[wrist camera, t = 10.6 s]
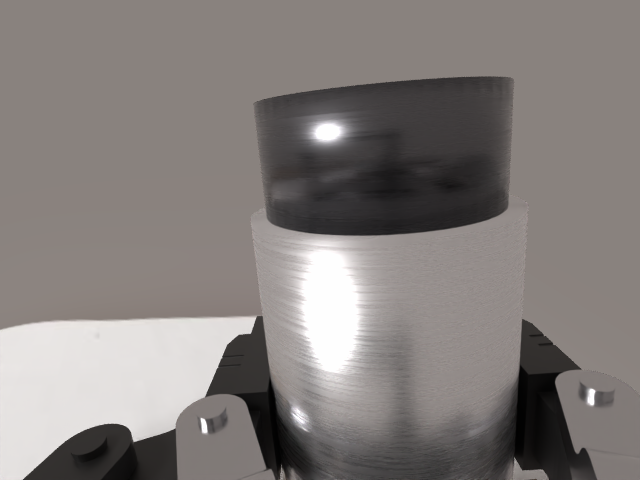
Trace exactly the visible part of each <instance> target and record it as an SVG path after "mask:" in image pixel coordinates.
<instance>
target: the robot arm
mask: <svg viewBox="0 0 640 480" xmlns="http://www.w3.org/2000/svg"><path fill="white" fill-rule="evenodd" d="M222 357H223V358H222V359H221V361H220V363H219V366H218V368H217V370H216V373H215V375H214V377H213V380H212V382H211V384H210V387H209V389H208V391H207V394H206V396H205V398H202V399H200V400H198V401H196V402H194V403H192V404H191V405H190V406H188V407H187V408H186V409H185V410H184V411H183V412H182V413H181V414H180V416H179V417H178V419H177V422H176V429H174V430H171V431H169V432H166V433H163V434H160V435H157V436H153V437H150V438H147V439H143V440H140V441H136V442H133V439H132V435H131V432H130V430H129V429H128V428H127V427H125V426H123V425H120V424H104V425H99V426H96V427H92V428H90V429H87V430H84V431H82V432H80V433H78V434H76V435H75V436H73V437H71V438H70V439H68V440H67V441H65V442H64V443H63V444H62V445H61V446H59V447H58V448H57V449H56V450H55V451H54V452H53V453H52V454H51V455H49V456H48V457H47V458H46V459H45V460H44V461H43V462H42V463H41V464H39V465H38V466H37V467H36V468H35V469H34V470H33V471H32V472H31V473H30V474H28V475H27V476H26V477H25V478H24V479H23V480H280V472H281V456H280V448H279V440H278V432H277V424H276V416H275V409H274V401H273V393H272V385H271V377H270V370H269V362H268V354H267V346H266V338H265V330H264V322H263V316H257V318H256V321H255V324H254V327H253V330H252V333H251V334H243V335H238V336H237V337H236V338H235V339H234V340H232V341H231V342H230V343H229V344H228V345H227V347H226V349H225V352H224V354H223V356H222ZM514 457H515V459H516V460H517V462H518V464H519V465H520V467H521V469H522V470H537V469H543V470H544V471H545V473H546V474H547V480H640V396H639V395H638V393H637V392H636V391H635V390H634V389H633V388H632V387H631V386H629V385H628V384H626V383H625V382H622V381H621V380H619V379H617V378H615V377H612V376H609V375H607V374H604V373H600V372H595V371H589V370H582V369H581V368H579V367H578V366H577V365H576V364H575V363H574V362H573V361H572V360H571V359H570V358H569V357H568V356H566V355H565V354H564V353H563V352H562V351H561V350H560V349H559V348H558V347H557V346H556V345H553V343H552V342H551V341H550V340H549V339H548V338H547V337H546V336H544V335H543V333H542V332H540V331H539V330H538V329H537V328H536V327H535V326H534V325H533V324H532V323H530V322H528V321H525V320H523V319H522V328H521V346H520V364H519V381H518V399H517V417H516V435H515V453H514Z"/></svg>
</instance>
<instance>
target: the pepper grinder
mask: <svg viewBox="0 0 640 480" xmlns="http://www.w3.org/2000/svg"><path fill="white" fill-rule="evenodd" d="M513 89H514V79H512V78H508V77H457V78H438V79H422V80H411V81H410V80H409V81H397V82H386V83H376V84H366V85H356V86H347V87H339V88H330V89H323V90H315V91H309V92H301V93H295V94H289V95H283V96H278V97H272V98H268V99H264V100H261V101H257V102H255V103H254V113H255V122H256V130H257V138H258V147H259V155H260V165H261V173H262V182H263V190H264V199H265V207H264V208H262V209H260V210H258V211H257V212H255V213H254V214H253V215H252V217H251V219H250V220H251V228H252V236H253V243H254V252H255V259H256V267H257V275H258V283H259V291H260V299H261V306H262V315H263V322H264V330H265V338H266V346H267V354H268V362H269V370H270V377H271V385H272V393H273V401H274V409H275V416H276V424H277V432H278V440H279V448H280V456H281V464H282V472H283V480H513V470H514V453H515V435H516V417H517V399H518V381H519V364H520V346H521V328H522V309H523V292H524V275H525V273H524V272H525V257H526V239H527V221H528V204H527V203H526V201H524V200H523V199H521V198H519V197H517V196H514V195H512V194H509V183H510V159H511V136H512V113H513Z"/></svg>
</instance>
